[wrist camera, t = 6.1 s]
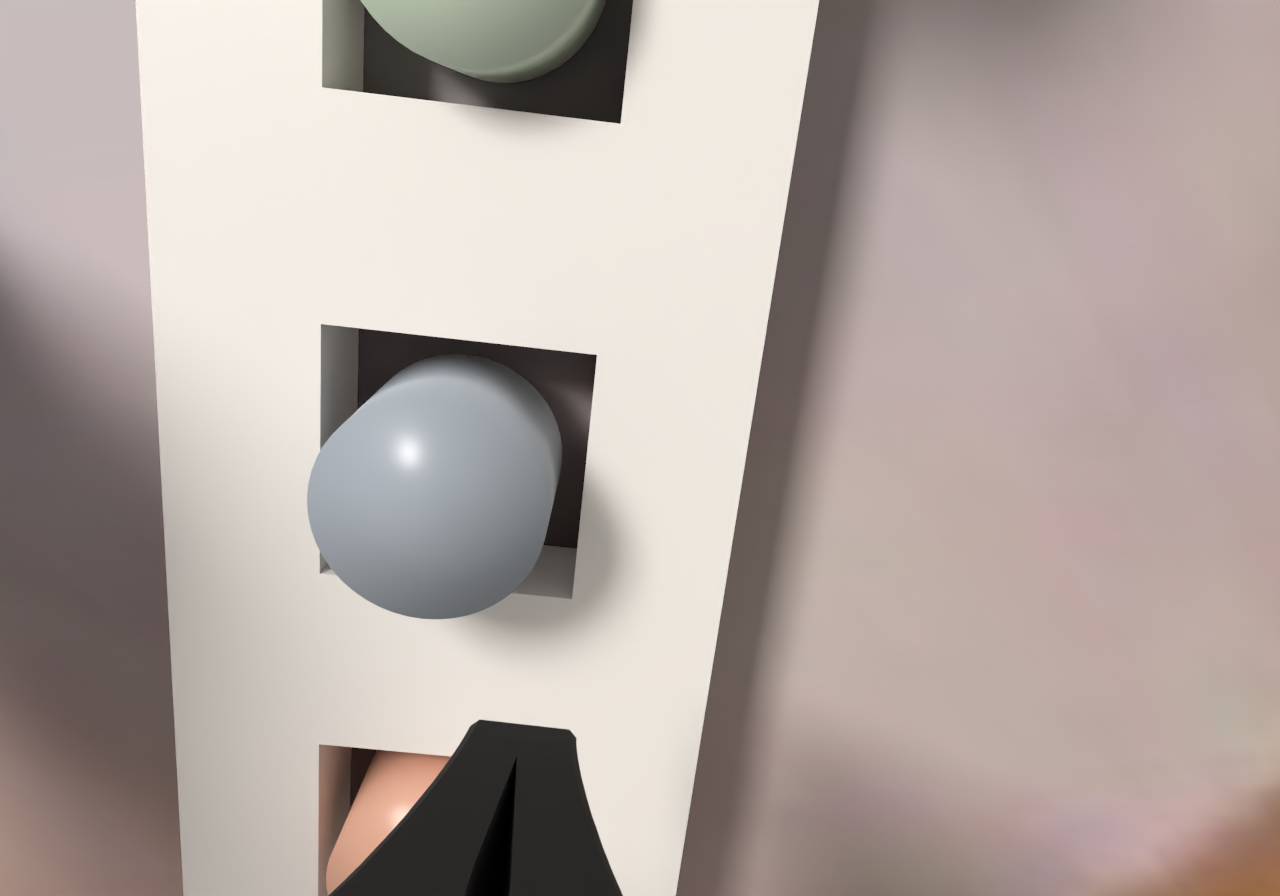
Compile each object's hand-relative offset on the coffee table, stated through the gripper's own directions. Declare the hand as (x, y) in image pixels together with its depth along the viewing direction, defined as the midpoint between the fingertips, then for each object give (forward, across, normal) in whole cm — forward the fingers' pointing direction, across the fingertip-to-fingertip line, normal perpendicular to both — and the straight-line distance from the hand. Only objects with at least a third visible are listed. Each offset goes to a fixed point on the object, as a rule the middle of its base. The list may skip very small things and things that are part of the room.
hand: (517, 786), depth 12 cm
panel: (+8, +2, -2) cm, 9 cm away
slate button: (+7, +2, -2) cm, 8 cm away
